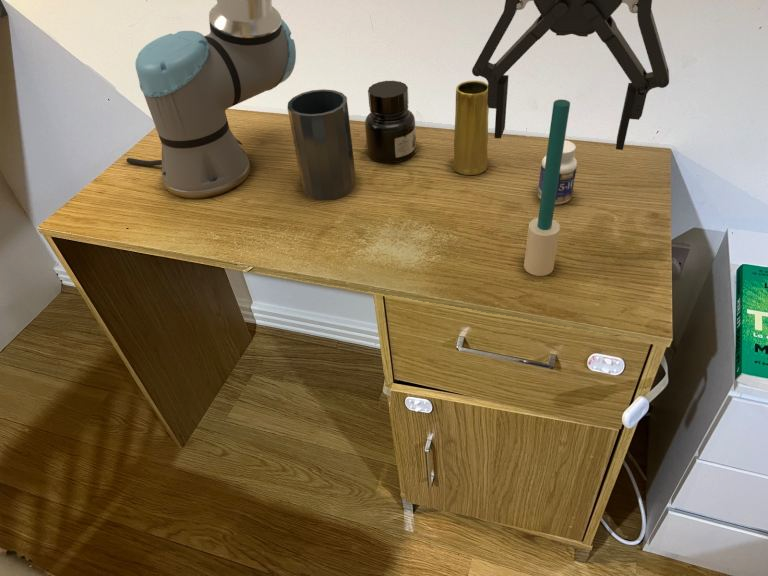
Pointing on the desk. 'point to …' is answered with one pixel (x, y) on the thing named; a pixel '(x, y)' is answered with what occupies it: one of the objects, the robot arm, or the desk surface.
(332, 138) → the grey pvc pipe
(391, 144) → the ink bottle
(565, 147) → the pill bottle
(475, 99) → the vase
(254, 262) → the desk surface
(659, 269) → the desk surface
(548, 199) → the brush
